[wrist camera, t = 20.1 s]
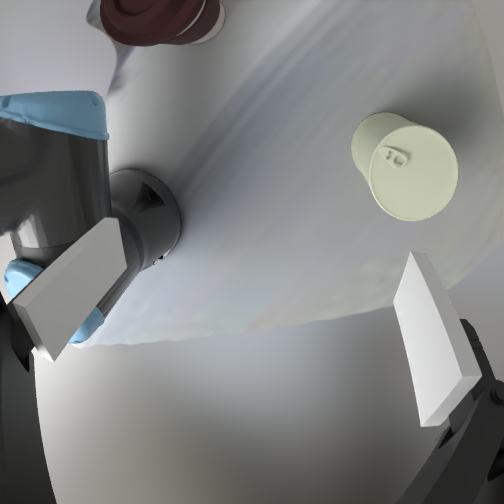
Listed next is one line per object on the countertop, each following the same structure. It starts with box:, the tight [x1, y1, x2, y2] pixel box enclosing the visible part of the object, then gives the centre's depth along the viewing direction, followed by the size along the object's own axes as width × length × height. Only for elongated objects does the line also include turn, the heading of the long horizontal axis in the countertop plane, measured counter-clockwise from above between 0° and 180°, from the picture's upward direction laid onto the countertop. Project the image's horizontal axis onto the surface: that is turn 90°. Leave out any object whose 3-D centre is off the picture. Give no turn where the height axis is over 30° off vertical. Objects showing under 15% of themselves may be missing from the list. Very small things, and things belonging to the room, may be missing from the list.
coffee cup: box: [100, 0, 225, 47], centre depth 23 cm, size 10×10×15 cm
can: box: [351, 112, 459, 221], centre depth 29 cm, size 9×9×12 cm
